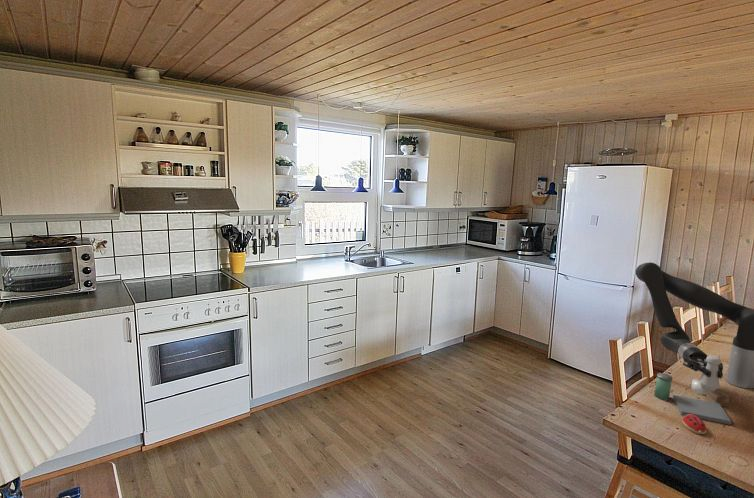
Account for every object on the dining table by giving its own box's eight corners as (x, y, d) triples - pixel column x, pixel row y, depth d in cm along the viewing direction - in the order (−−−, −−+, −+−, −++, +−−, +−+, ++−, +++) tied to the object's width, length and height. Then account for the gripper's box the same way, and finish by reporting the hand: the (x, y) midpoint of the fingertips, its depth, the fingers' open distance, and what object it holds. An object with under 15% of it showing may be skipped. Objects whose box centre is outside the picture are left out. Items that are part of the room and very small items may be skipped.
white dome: (709, 389, 177) (710, 380, 176) (714, 397, 170) (716, 388, 170) (689, 385, 179) (690, 377, 179) (693, 393, 173) (695, 384, 172)
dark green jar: (667, 395, 171) (670, 374, 170) (670, 401, 167) (673, 380, 165) (652, 392, 173) (655, 371, 172) (655, 398, 169) (658, 377, 167)
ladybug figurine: (697, 421, 154) (699, 412, 153) (712, 437, 144) (713, 428, 144) (677, 418, 155) (678, 410, 155) (690, 434, 146) (691, 425, 145)
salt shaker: (714, 386, 160) (720, 355, 157) (720, 393, 154) (727, 361, 152) (696, 383, 162) (701, 352, 159) (702, 390, 156) (708, 358, 154)
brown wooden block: (718, 399, 169) (719, 390, 168) (727, 406, 164) (729, 397, 163) (705, 399, 169) (707, 390, 168) (715, 405, 164) (716, 396, 163)
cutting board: (718, 406, 163) (719, 403, 163) (730, 424, 151) (731, 421, 151) (672, 398, 169) (673, 394, 169) (681, 414, 157) (681, 411, 157)
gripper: (674, 344, 171) (695, 363, 155) (714, 349, 168) (739, 368, 151) (671, 361, 173) (692, 382, 156) (710, 366, 169) (735, 387, 153)
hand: (715, 375), depth 154 cm, fingers closed on salt shaker, 3 cm apart
